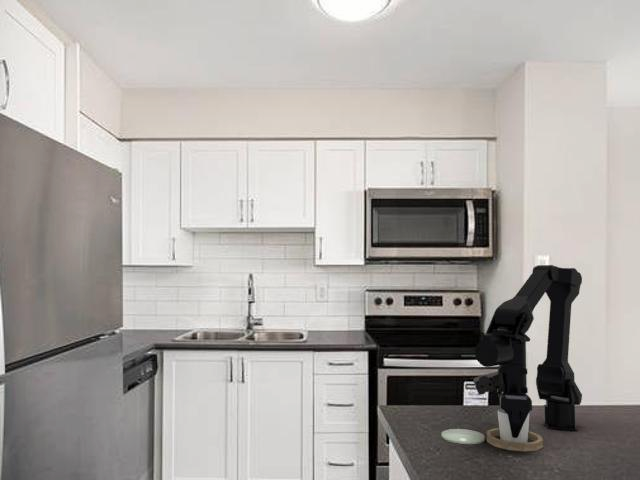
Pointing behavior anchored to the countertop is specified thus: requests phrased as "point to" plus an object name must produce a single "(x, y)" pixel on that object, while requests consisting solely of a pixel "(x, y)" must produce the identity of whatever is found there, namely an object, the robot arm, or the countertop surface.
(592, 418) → the countertop surface
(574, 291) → the robot arm
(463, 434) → the pale green round disc
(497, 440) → the collar
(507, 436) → the shot glass
